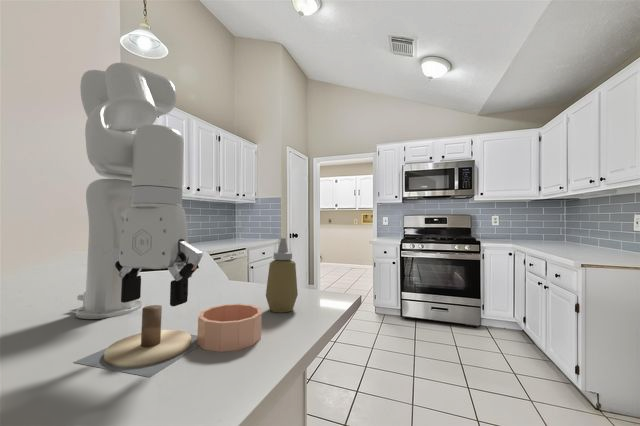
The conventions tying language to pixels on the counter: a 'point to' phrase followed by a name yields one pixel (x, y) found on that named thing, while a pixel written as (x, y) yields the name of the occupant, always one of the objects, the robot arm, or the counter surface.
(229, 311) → the bowl
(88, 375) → the counter surface
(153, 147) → the robot arm
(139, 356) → the lid
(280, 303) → the squeeze bottle
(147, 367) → the mat
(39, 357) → the counter surface
